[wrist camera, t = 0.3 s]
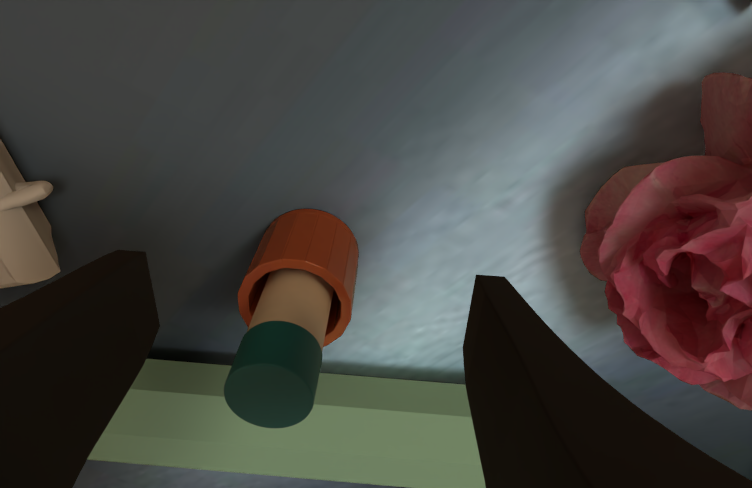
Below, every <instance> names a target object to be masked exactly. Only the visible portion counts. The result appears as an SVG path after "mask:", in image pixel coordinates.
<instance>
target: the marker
mask: <svg viewBox="0 0 752 488" xmlns="http://www.w3.org/2000/svg"><path fill="white" fill-rule="evenodd" d="M333 292H334V288H333V287H332V286H331V285H330V284H328V283H327V282H326V281H325V280H324V279H323V278H322V277H320V276H318V275H316V274H313V273H311V272H308V271H306V270H304V269H292V268H282V269H278V270H275V271H271V272H270V274H269V276H268V279H267V281H266V284H265V287H264V289H263V292H262V294H261V297H260V299H259V302H258V304H257V307H256V310H255V312H254V315H253V317H252V320H251V322H250V325H249V327H248V330H247V333H246V334H245V335H244V337H243V339H242V341H241V344H240V346H239V349H238V351H237V354H236V356H235V359H234V361H233V364H232V366H231V369H230V371H229V374H228V376H227V379H226V381H225V384H224V397H225V400H226V403H227V405H228V406H229V408H230V409H231V410H232V411H233V412H234V413H235V414H236V415H237V416H238V417H240V418H241V419H243V420H244V421H246V422H248V423H251V424H253V425H256V426H259V427H264V428H286V427H290V426H293V425H296V424H298V423H300V422H301V421H303V420H304V419H305V418H306V417H307V416H308V415H309V414H310V412H311V410H312V408H313V405H314V400H315V395H316V389H317V384H318V379H319V373H320V368H321V363H322V349H323V344H324V339H325V334H326V328H327V323H328V318H329V313H330V307H331V302H332V297H333Z"/></svg>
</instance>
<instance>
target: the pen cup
mask: <svg viewBox="0 0 752 488" xmlns="http://www.w3.org/2000/svg"><path fill="white" fill-rule="evenodd" d="M358 258H359V250H358V244H357V241H356V239H355V237H354V235H353V233H352V232H351V230H350V229H349V228H348V227H347V226H346V224H345V223H343V222H342V221H341V220H340V219H338V218H337V217H335V216H333V215H331V214H329V213H327V212H324V211H320V210H316V209H297V210H293V211H290V212H287V213H285V214H283V215H281V216H279V217H278V218H276V219H275V220H274V221H273V222H272V223H271V224H270V226H269V227H268V228H267V230H266V232H265V234H264V236H263V238H262V240H261V242H260V245H259V247H258V249H257V251H256V253H255V255H254V258H253V260H252V262H251V264H250V266H249V268H248V271H247V273H246V275H245V277H244V279H243V282H242V284H241V286H240V289H239V291H238V305H239V312H240V314H241V316H242V318H243V319H244V321H245V323H246V324H247V326H248V327H249V325H250V322H251V320H252V317H253V315H254V312H255V310H256V307H257V304H258V302H259V299H260V297H261V294H262V292H263V289H264V287H265V284H266V281H267V279H268V276H269V274H270V272H271V271H275V270H278V269H282V268H292V269H304V270H306V271H308V272H311V273H313V274H316V275H318V276H320V277H322V278H323V279H324V280H325V281H326V282H327V283H328V284H330V285H331V286H332V287H333V288H334V292H333V297H332V302H331V307H330V313H329V318H328V323H327V328H326V334H325V339H324V344H323V347H324V346H327V345H328V344H330V343H331V342H333V341H334V340H336V339H337V338H339V337H340V336H341V335H342V334H343V332H344V331H345V329H346V327H347V326H348V324H349V322H350V320H351V315H352V308H353V300H354V293H355V285H356V277H357V270H358Z"/></svg>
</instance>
